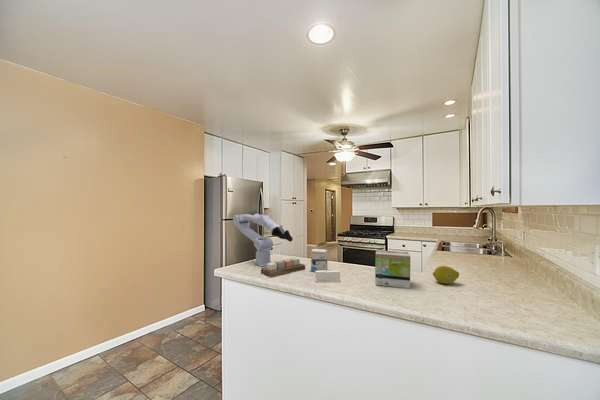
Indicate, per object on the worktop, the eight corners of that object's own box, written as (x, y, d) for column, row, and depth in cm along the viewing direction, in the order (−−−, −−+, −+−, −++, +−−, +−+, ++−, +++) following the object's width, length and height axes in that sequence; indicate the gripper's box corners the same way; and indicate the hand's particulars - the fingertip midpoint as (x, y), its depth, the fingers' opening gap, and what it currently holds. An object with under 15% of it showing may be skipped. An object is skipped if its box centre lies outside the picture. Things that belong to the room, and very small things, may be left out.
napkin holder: (345, 280, 124) (345, 269, 124) (336, 288, 114) (336, 275, 114) (317, 276, 131) (317, 265, 131) (307, 282, 121) (307, 271, 121)
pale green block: (289, 264, 145) (289, 258, 145) (295, 262, 147) (295, 257, 147) (294, 265, 142) (293, 260, 142) (299, 264, 144) (299, 259, 144)
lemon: (432, 284, 116) (432, 267, 116) (432, 279, 123) (432, 263, 123) (460, 288, 111) (460, 270, 111) (458, 282, 118) (458, 265, 118)
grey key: (274, 267, 138) (274, 261, 138) (280, 266, 141) (280, 260, 141) (278, 268, 135) (278, 263, 135) (284, 267, 138) (284, 262, 138)
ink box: (310, 271, 138) (310, 250, 138) (312, 269, 142) (312, 248, 142) (326, 273, 135) (325, 251, 135) (327, 270, 140) (327, 249, 140)
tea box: (375, 285, 115) (374, 253, 115) (375, 279, 125) (375, 249, 124) (410, 289, 110) (410, 255, 110) (408, 281, 120) (407, 250, 120)
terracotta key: (282, 265, 142) (282, 260, 142) (288, 264, 144) (288, 259, 144) (286, 267, 138) (286, 261, 138) (292, 265, 141) (292, 260, 141)
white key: (266, 269, 135) (266, 263, 135) (272, 267, 138) (272, 262, 137) (270, 270, 132) (270, 265, 132) (276, 269, 134) (276, 263, 134)
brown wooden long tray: (261, 273, 136) (260, 268, 136) (294, 265, 151) (294, 261, 151) (270, 277, 129) (270, 272, 128) (305, 269, 143) (305, 264, 143)
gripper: (268, 218, 142) (283, 229, 133) (284, 224, 153) (298, 235, 145) (262, 229, 142) (276, 241, 134) (278, 234, 153) (292, 245, 145)
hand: (287, 238), depth 139 cm, fingers open, 7 cm apart
